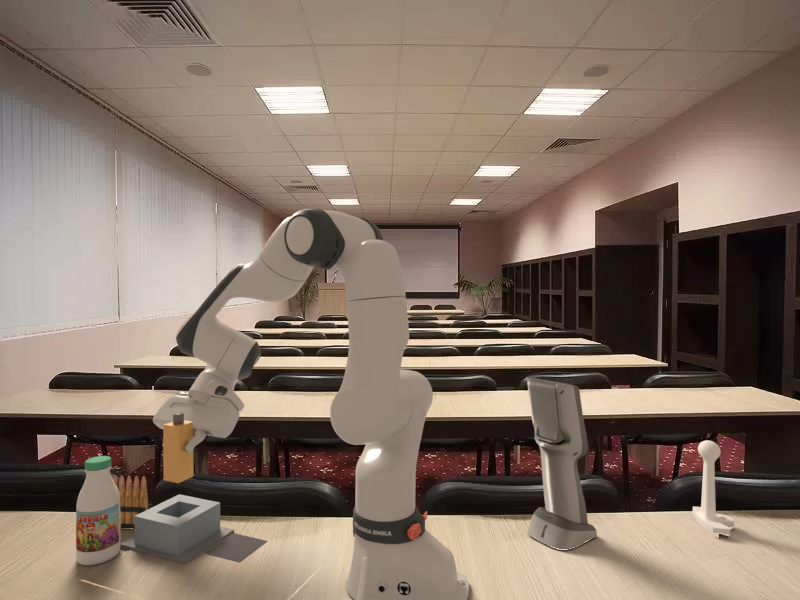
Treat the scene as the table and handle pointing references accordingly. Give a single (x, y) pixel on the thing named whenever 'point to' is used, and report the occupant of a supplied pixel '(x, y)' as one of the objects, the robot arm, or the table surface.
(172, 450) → the plug
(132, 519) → the ammunition clip
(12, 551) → the table surface
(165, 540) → the housing
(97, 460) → the milk bottle
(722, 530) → the joystick
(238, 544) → the mat
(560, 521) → the thermal camera
